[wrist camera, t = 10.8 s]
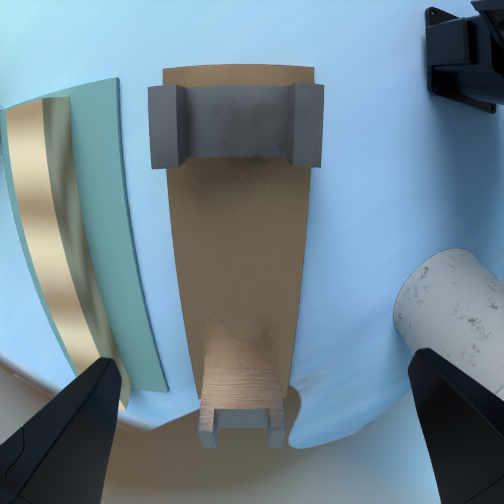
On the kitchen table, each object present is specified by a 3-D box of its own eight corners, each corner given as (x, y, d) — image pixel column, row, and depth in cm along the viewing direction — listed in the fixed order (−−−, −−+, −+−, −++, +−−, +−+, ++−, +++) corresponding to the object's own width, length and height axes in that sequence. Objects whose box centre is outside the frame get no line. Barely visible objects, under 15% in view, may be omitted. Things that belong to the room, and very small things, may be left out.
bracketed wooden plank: (167, 70, 14) (121, 52, 8) (310, 69, 15) (351, 49, 8) (199, 391, 26) (192, 454, 20) (285, 390, 26) (293, 454, 20)
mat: (118, 77, 14) (116, 77, 14) (168, 389, 26) (168, 392, 26) (2, 110, 14) (-1, 111, 14) (79, 378, 26) (78, 380, 25)
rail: (34, 106, 14) (6, 110, 11) (69, 96, 14) (42, 97, 11) (105, 382, 25) (97, 406, 23) (132, 386, 25) (125, 410, 23)
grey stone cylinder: (481, 306, 23) (547, 393, 12) (403, 354, 25) (452, 461, 14) (476, 228, 19) (579, 318, 8) (381, 284, 21) (458, 418, 10)
